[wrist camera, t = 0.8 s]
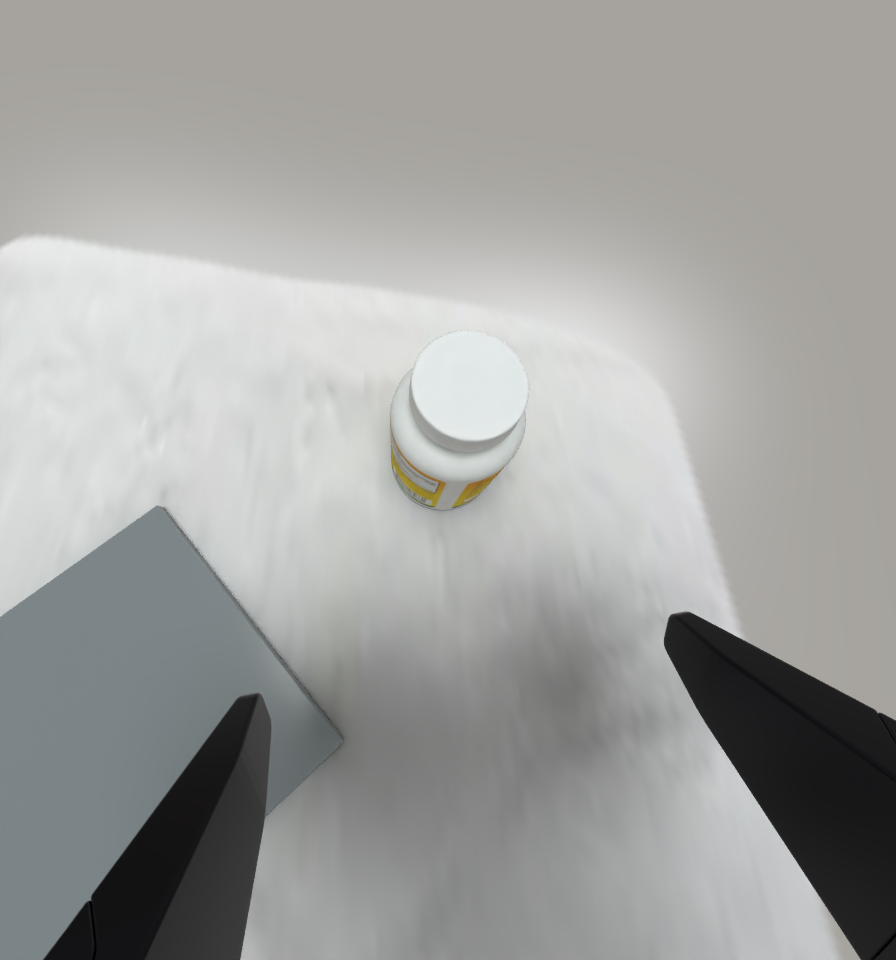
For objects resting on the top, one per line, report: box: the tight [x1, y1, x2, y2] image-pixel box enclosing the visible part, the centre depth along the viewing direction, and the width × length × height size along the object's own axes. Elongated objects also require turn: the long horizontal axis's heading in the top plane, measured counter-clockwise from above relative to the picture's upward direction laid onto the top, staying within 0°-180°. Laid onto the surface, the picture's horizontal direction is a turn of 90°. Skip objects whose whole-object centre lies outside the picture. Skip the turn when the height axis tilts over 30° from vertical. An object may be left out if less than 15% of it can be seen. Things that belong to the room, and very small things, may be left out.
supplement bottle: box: [390, 330, 529, 510], centre depth 19 cm, size 5×5×10 cm
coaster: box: [0, 506, 344, 960], centre depth 19 cm, size 14×14×1 cm
